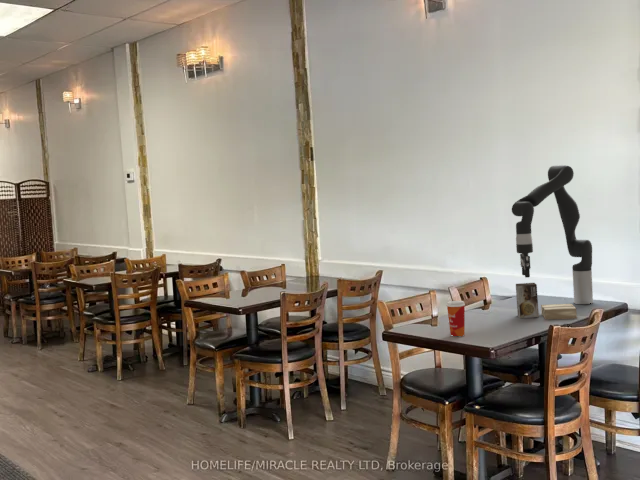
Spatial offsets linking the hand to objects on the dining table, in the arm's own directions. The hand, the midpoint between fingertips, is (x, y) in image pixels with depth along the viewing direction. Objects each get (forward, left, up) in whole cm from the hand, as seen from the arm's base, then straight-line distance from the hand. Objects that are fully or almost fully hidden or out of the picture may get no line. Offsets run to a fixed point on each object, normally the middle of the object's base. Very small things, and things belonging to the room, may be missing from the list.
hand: (525, 276), depth 321 cm
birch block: (+2, +14, -20) cm, 25 cm away
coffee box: (0, 0, -20) cm, 20 cm away
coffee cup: (+35, -35, -20) cm, 54 cm away
